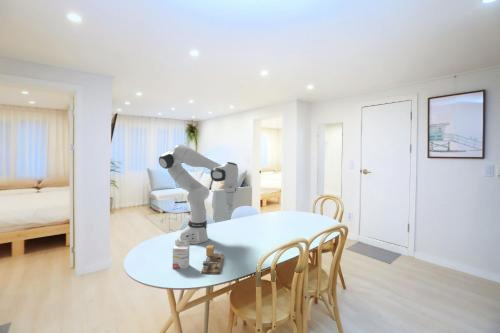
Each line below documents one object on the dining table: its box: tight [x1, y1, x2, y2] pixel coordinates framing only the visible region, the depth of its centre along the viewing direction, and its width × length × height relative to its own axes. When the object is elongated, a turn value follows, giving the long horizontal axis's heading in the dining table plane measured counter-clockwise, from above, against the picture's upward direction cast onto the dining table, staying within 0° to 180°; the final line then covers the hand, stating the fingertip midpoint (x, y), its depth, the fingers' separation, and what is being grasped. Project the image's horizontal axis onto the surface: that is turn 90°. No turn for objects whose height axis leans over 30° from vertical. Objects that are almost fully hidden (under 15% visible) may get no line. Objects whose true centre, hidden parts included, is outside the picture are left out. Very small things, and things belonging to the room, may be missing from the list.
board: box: [200, 253, 225, 275], centre depth 144 cm, size 10×22×4 cm, turn 0°
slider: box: [205, 244, 220, 258], centre depth 150 cm, size 8×4×7 cm, turn 90°
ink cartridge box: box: [172, 239, 190, 270], centre depth 140 cm, size 9×5×15 cm, turn 92°
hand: (230, 208), depth 160 cm, fingers open, 8 cm apart
